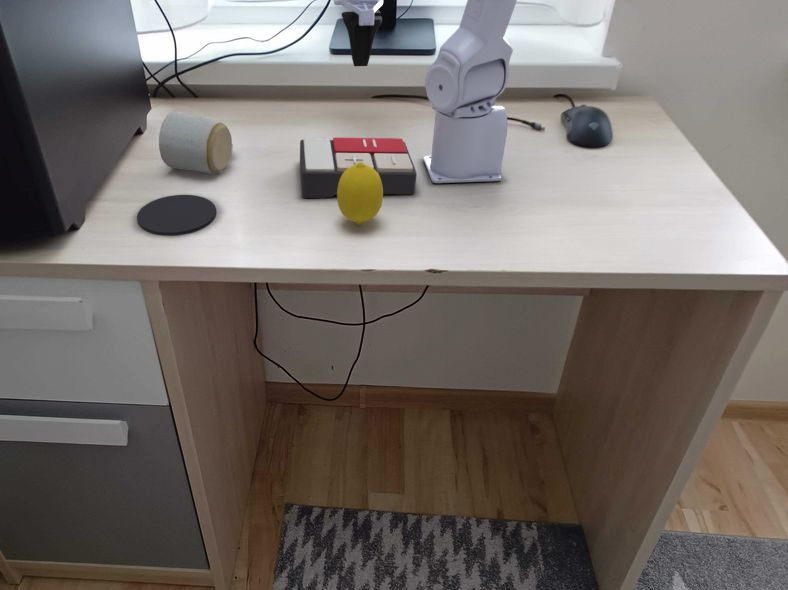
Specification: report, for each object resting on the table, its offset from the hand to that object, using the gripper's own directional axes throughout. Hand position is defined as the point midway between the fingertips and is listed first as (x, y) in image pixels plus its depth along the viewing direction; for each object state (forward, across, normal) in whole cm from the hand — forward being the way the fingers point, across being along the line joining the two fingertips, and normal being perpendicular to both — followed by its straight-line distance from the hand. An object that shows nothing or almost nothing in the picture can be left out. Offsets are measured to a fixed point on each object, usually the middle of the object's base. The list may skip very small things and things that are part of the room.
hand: (360, 64), depth 99 cm
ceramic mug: (+10, +13, -24) cm, 29 cm away
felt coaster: (+9, +28, -26) cm, 39 cm away
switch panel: (+10, +19, -2) cm, 22 cm away
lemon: (+10, +32, -3) cm, 34 cm away
